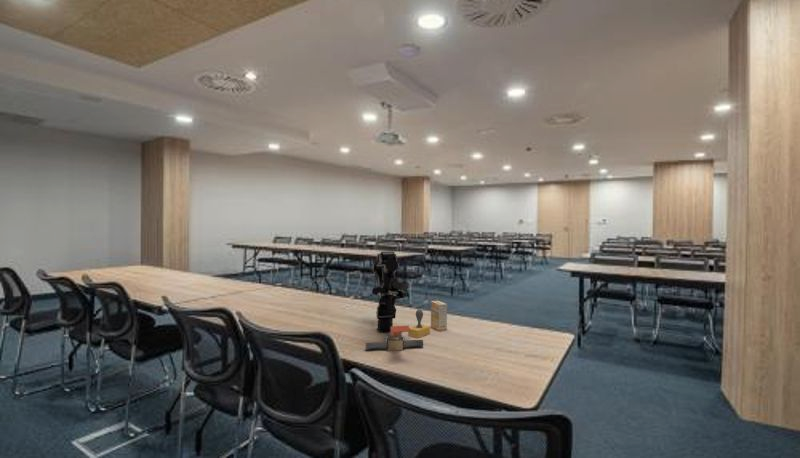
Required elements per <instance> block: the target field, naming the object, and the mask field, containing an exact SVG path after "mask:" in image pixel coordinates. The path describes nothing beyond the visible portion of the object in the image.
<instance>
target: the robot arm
mask: <svg viewBox="0 0 800 458" xmlns="http://www.w3.org/2000/svg"><path fill="white" fill-rule="evenodd" d="M397 256H398V255H397V253H395V252H394V251H381V252H380V253H377V254H376V258H375V259H374V260H373V261H372V273H373V274H374V275H373V276H374V277H375V278H376V279H377V282H378V283H377V284H378V286H374V287H373V288H372V289H371V294H372V295H375V296H376V295H377V296H378V294H379V301H378V305H377V306H376V314H375V315H376V319H377V327H376V331H379V332H381V333H389V332H390V333H392V332H391V326H394V325H393V321H394V319H396V315H397V314H396V313H397V308H396V306H395V304H396V301H397V300H401V299H405V298H407V296H408V295H407V291H406V290H407V289H408V288H409V282H407V281H402V282H401V281H398V279H396V271H397V270H398V268H399V259H398V257H397Z"/></svg>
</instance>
